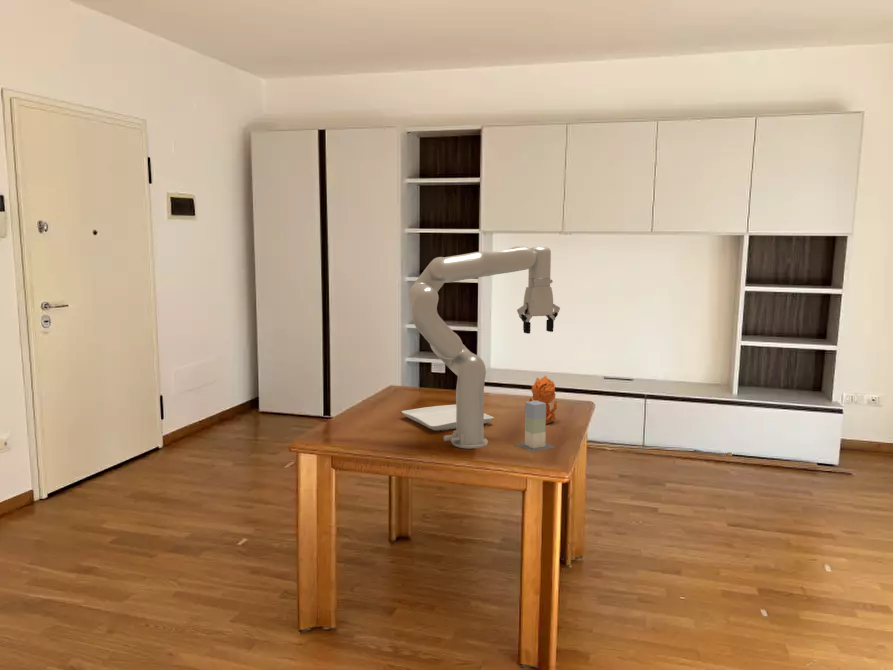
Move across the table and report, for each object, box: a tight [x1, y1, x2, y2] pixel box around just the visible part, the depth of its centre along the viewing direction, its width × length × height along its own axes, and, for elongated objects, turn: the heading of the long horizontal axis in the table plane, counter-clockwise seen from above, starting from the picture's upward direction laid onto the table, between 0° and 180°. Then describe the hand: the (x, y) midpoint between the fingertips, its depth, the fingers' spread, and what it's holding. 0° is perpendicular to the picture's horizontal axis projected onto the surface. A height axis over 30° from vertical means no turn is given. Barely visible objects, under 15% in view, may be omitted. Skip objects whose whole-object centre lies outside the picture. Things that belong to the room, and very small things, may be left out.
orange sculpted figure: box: [528, 375, 558, 425], centre depth 270 cm, size 11×11×18 cm
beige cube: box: [524, 430, 547, 448], centre depth 239 cm, size 5×5×5 cm
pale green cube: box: [524, 416, 547, 434], centre depth 238 cm, size 5×5×5 cm
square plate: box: [400, 403, 495, 431], centre depth 272 cm, size 27×27×4 cm
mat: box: [515, 441, 556, 453], centre depth 239 cm, size 10×10×1 cm
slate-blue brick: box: [524, 400, 546, 420], centre depth 237 cm, size 5×5×5 cm
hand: (538, 332), depth 243 cm, fingers open, 9 cm apart
